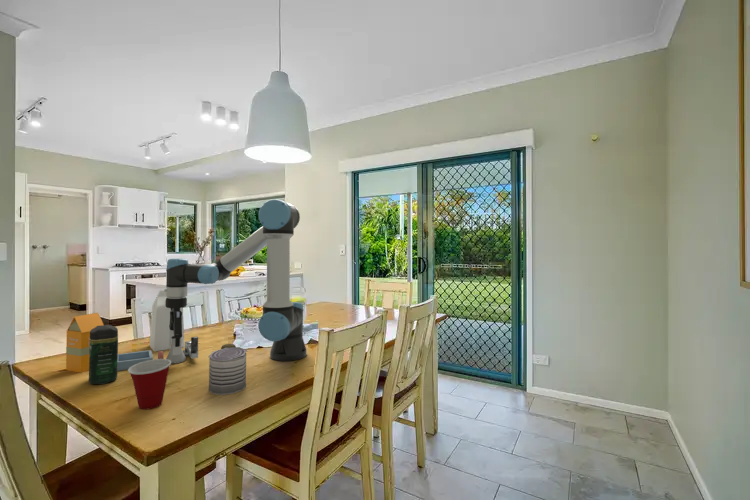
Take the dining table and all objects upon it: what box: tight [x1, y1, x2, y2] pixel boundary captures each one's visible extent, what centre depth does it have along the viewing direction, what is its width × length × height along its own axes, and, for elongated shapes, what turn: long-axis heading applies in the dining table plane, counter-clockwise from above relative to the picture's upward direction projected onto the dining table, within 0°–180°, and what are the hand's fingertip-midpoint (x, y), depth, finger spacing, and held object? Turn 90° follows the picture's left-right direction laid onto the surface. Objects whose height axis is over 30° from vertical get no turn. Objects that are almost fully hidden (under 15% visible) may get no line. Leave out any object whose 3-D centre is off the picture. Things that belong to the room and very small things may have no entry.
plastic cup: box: [127, 358, 172, 410], centre depth 107 cm, size 11×11×12 cm
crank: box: [184, 336, 199, 360], centre depth 153 cm, size 15×4×8 cm, turn 34°
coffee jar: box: [88, 324, 119, 385], centre depth 126 cm, size 10×8×19 cm
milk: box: [149, 289, 185, 352], centre depth 169 cm, size 12×12×26 cm
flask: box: [165, 337, 187, 364], centre depth 148 cm, size 7×7×10 cm
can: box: [208, 346, 248, 396], centre depth 121 cm, size 11×11×12 cm
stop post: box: [157, 350, 165, 359], centre depth 147 cm, size 2×2×4 cm
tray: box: [117, 349, 154, 372], centre depth 144 cm, size 12×12×3 cm
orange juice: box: [65, 312, 105, 373], centre depth 138 cm, size 8×9×20 cm
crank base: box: [182, 349, 190, 357], centre depth 157 cm, size 6×6×2 cm
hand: (174, 350), depth 148 cm, fingers open, 13 cm apart
